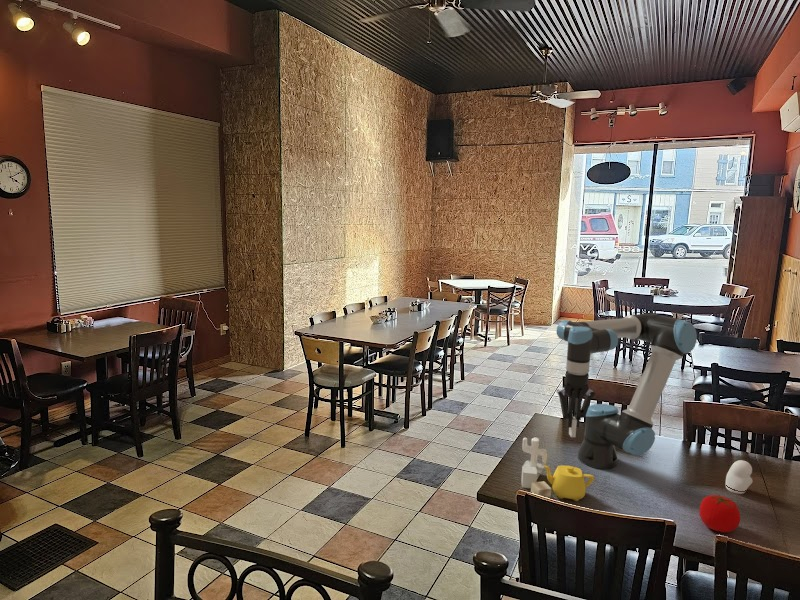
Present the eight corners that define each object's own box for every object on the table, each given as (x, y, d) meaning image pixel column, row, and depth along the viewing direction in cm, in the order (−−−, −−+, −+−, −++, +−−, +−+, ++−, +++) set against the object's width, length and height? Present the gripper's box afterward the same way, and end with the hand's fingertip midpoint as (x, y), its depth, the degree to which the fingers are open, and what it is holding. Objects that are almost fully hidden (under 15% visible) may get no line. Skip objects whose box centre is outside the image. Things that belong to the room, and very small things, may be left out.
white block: (534, 482, 198) (536, 467, 196) (535, 489, 193) (537, 474, 192) (521, 480, 198) (522, 465, 197) (521, 487, 194) (523, 472, 192)
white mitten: (741, 497, 190) (746, 466, 188) (720, 487, 197) (725, 457, 195) (752, 492, 194) (757, 462, 191) (731, 482, 200) (736, 453, 198)
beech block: (543, 493, 190) (544, 481, 189) (550, 501, 185) (551, 488, 184) (530, 495, 188) (531, 482, 188) (537, 503, 184) (538, 490, 183)
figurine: (543, 482, 197) (546, 445, 194) (518, 476, 201) (520, 439, 198) (547, 474, 203) (550, 438, 200) (523, 468, 207) (525, 432, 205)
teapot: (540, 498, 187) (542, 470, 185) (540, 482, 197) (542, 456, 195) (593, 506, 182) (596, 478, 180) (590, 490, 193) (593, 463, 191)
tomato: (700, 533, 169) (705, 503, 167) (694, 513, 180) (698, 484, 178) (741, 542, 165) (746, 512, 163) (732, 520, 176) (737, 492, 174)
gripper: (592, 368, 185) (586, 430, 189) (555, 367, 185) (550, 430, 189) (600, 375, 177) (594, 440, 182) (561, 375, 177) (556, 440, 182)
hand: (572, 435), depth 186 cm, fingers closed
